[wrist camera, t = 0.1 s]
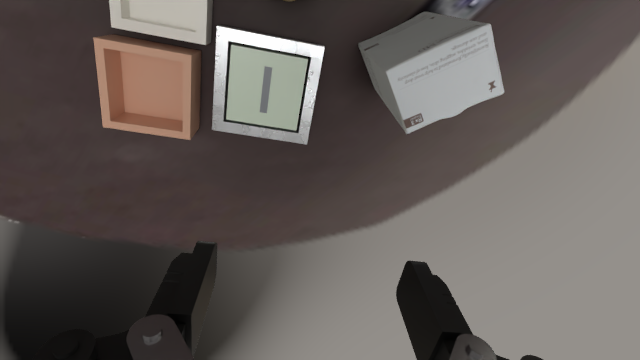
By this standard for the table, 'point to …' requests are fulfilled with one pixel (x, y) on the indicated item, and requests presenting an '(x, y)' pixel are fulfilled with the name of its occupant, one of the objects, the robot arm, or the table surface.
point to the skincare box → (433, 68)
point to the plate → (265, 86)
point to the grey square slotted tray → (269, 41)
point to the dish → (148, 86)
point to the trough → (165, 18)
